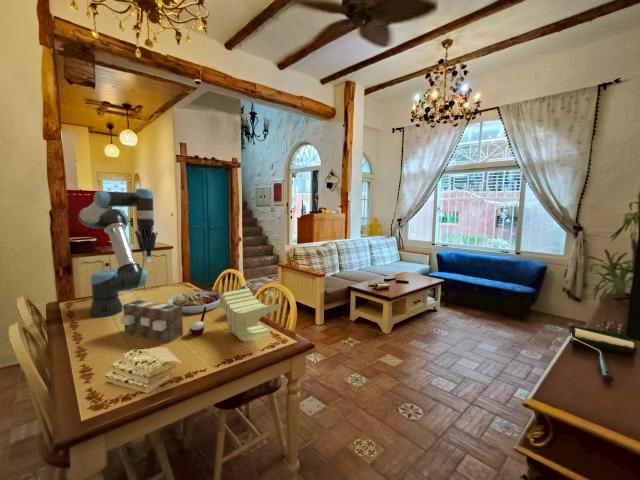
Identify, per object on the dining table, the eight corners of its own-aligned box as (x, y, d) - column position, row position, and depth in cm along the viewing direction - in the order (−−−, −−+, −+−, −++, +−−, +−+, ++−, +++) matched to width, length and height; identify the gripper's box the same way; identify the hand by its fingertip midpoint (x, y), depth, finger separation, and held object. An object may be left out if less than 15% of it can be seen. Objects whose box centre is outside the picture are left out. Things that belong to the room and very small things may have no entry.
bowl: (161, 317, 161) (160, 303, 160) (174, 299, 190) (174, 287, 189) (219, 314, 168) (219, 300, 167) (223, 297, 197) (223, 285, 196)
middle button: (140, 324, 135) (140, 317, 135) (146, 322, 139) (146, 315, 138) (148, 326, 134) (148, 319, 134) (154, 323, 137) (153, 316, 137)
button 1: (121, 323, 136) (120, 316, 136) (127, 321, 139) (127, 314, 139) (128, 325, 135) (128, 318, 134) (134, 322, 138) (134, 315, 137)
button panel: (124, 333, 140) (123, 303, 138) (139, 327, 148) (138, 298, 146) (170, 342, 133) (168, 310, 131) (182, 334, 141) (182, 305, 139)
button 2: (152, 329, 131) (152, 322, 131) (158, 326, 134) (158, 319, 134) (160, 331, 130) (160, 323, 129) (166, 328, 133) (166, 320, 132)
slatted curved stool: (220, 327, 150) (219, 293, 148) (248, 320, 160) (248, 287, 158) (248, 350, 128) (248, 310, 125) (279, 340, 138) (279, 303, 136)
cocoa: (189, 339, 137) (187, 315, 135) (186, 334, 142) (184, 310, 140) (210, 334, 142) (209, 310, 140) (207, 328, 147) (205, 306, 145)
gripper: (129, 218, 155) (131, 262, 158) (149, 219, 151) (151, 264, 154) (141, 217, 162) (143, 260, 165) (161, 218, 158) (162, 262, 161)
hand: (147, 262), depth 160 cm, fingers closed
